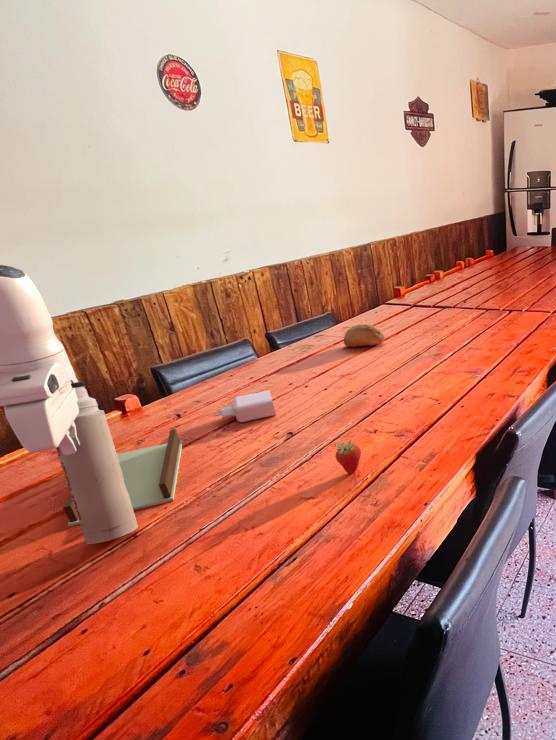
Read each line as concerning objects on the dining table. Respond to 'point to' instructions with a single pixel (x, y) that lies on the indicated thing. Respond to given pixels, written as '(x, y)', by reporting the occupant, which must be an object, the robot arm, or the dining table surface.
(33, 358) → the robot arm
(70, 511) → the tray
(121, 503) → the thermos bottle
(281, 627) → the dining table surface
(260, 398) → the white nozzle bottle
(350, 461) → the fruit
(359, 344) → the bread roll
